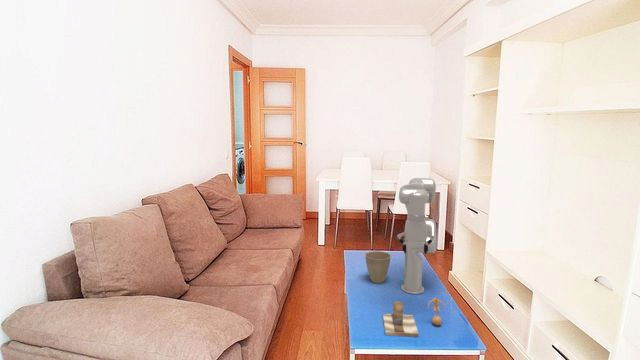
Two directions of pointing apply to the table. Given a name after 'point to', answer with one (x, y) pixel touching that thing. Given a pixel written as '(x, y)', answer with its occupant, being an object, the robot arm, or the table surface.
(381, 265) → the plant pot
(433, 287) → the table surface
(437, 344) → the table surface
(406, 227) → the robot arm
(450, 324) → the table surface
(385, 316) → the floor board
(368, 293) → the table surface
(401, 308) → the brown cylinder
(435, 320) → the figurine
